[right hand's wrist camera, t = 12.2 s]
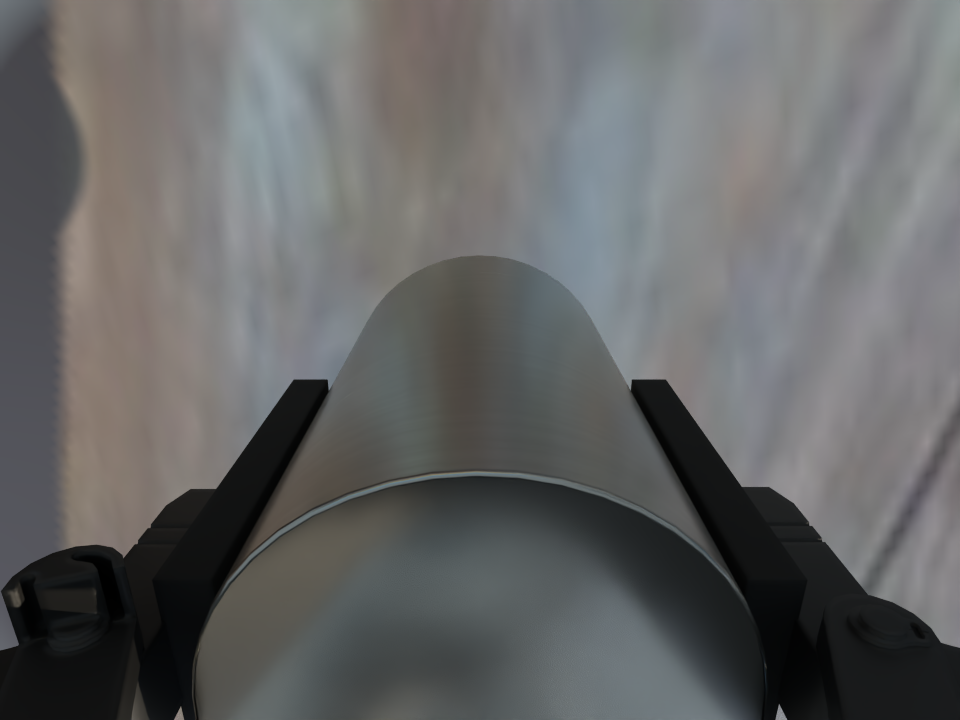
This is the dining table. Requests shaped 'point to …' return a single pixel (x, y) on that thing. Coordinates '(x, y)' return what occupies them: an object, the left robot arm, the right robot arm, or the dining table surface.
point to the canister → (479, 535)
